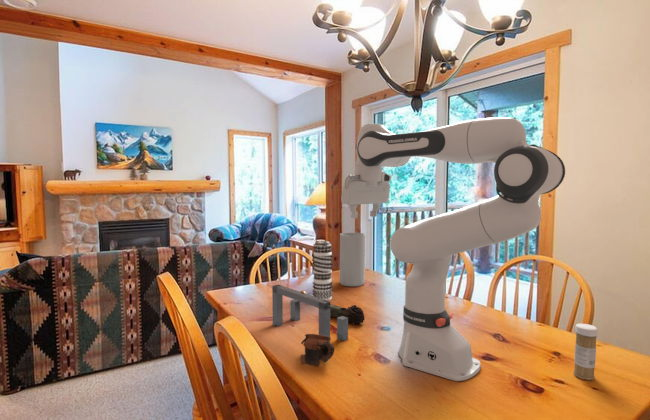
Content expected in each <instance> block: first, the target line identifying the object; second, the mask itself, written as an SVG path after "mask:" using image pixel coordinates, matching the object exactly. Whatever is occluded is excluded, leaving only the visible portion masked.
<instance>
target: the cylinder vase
mask: <svg viewBox="0 0 650 420" xmlns="http://www.w3.org/2000/svg"><path fill="white" fill-rule="evenodd" d="M365 268H366V233H361V232H342V233H339V284H340V285H342V286H344V287H345V286H346V287H353V288H354V287H356V288H357V287H361V286H363V285H365V282H366V281H365V277H366V272H365V271H366V270H365Z"/></svg>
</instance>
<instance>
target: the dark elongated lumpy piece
mask: <svg viewBox="0 0 650 420" xmlns="http://www.w3.org/2000/svg"><path fill="white" fill-rule="evenodd" d="M341 316H344V317H347V318H348V322H350V323H352V325H357V324H363V323H364V321H366V320H365V314H364V310H363V309H362V308H361V307H359V306H357V305H356V304H354V305H353V304H352V305H351V306H348V307H347V308H346V307H342V306H339V305H336V304H333V303H330V317H334V318H336V319H337V318H338V317H341Z"/></svg>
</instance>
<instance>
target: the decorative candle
mask: <svg viewBox="0 0 650 420" xmlns="http://www.w3.org/2000/svg"><path fill="white" fill-rule="evenodd" d="M312 245H313V253H312V254H311V257H312V259H311V261H312V263H311V265H312V273H313V281H312V288H313V289H312V296H314V297H317V298H320V299H323V300H326V301H330V300H332V299H333V297H332V296H333V290H332V288H333V286H332V284H333V282H332V273H333V271H332V269H333V265H334V264H333V262H332V261H333V260H334V259H333V258H334V255H333V254H332V253H333V252H332V244H331V243H330V241H328V240H317V241H315V243H313V244H312Z"/></svg>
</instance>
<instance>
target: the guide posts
mask: <svg viewBox="0 0 650 420" xmlns="http://www.w3.org/2000/svg"><path fill="white" fill-rule="evenodd" d="M289 301H290V302H289V303H290V305H289V306H290V307H289V308H290V310H289V311H290V313H289V314H290V318H289V319H290V320H291V321H294V322H296V321H298V320H301V302H300V301H298V300H295V299H291V300H289ZM336 340H339V341H340V342H345V341H347V340H349V321H348V318H347V317H344V316H341V317H338V318H337V317H336Z"/></svg>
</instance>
